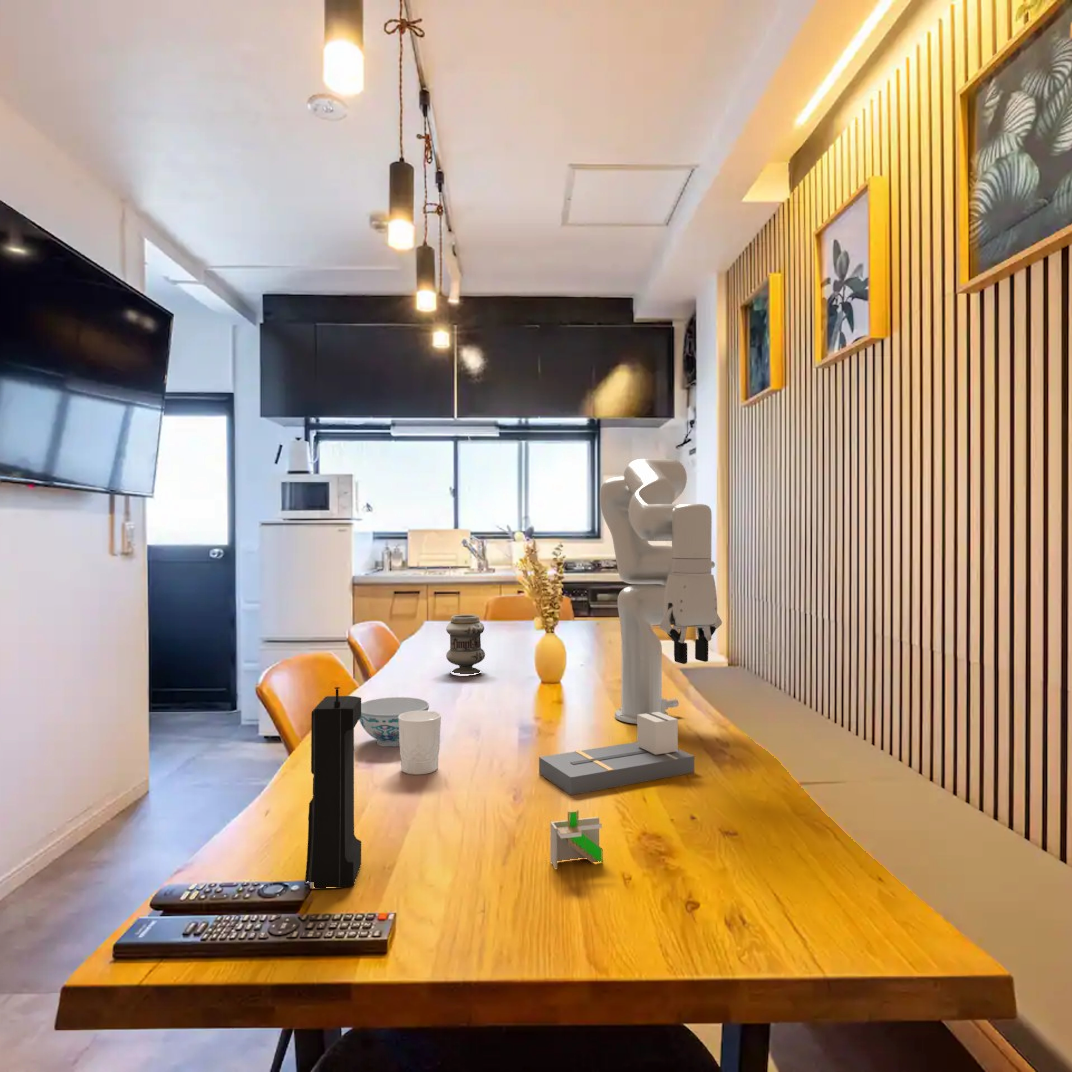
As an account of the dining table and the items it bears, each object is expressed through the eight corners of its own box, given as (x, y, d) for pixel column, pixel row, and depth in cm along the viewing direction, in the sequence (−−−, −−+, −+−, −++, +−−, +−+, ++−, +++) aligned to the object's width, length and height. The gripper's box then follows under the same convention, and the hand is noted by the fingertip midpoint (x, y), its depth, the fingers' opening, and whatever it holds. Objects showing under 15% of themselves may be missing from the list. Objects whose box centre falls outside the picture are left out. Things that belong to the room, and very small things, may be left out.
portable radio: (317, 861, 97) (317, 676, 96) (362, 859, 97) (362, 675, 97) (303, 890, 89) (303, 689, 89) (353, 888, 89) (352, 688, 89)
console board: (655, 754, 143) (655, 738, 143) (694, 772, 132) (694, 755, 132) (539, 773, 132) (539, 756, 132) (570, 795, 121) (570, 776, 121)
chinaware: (442, 736, 155) (442, 701, 155) (401, 756, 141) (401, 717, 141) (385, 728, 161) (385, 694, 161) (341, 747, 147) (341, 709, 147)
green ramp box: (608, 873, 94) (608, 812, 94) (558, 879, 93) (559, 818, 92) (598, 860, 98) (598, 801, 98) (550, 865, 96) (550, 806, 96)
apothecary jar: (451, 669, 230) (451, 613, 230) (488, 670, 228) (488, 613, 228) (441, 676, 218) (441, 617, 218) (480, 678, 216) (480, 618, 216)
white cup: (448, 764, 136) (448, 712, 136) (428, 778, 129) (428, 722, 129) (411, 760, 139) (411, 708, 139) (390, 773, 132) (390, 719, 132)
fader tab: (658, 742, 140) (658, 711, 140) (677, 751, 134) (677, 718, 134) (637, 745, 138) (637, 714, 137) (655, 754, 132) (655, 721, 132)
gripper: (713, 565, 146) (712, 655, 146) (644, 567, 139) (644, 662, 139) (738, 567, 139) (738, 661, 140) (667, 569, 132) (667, 668, 132)
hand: (691, 660), depth 139 cm, fingers open, 4 cm apart
